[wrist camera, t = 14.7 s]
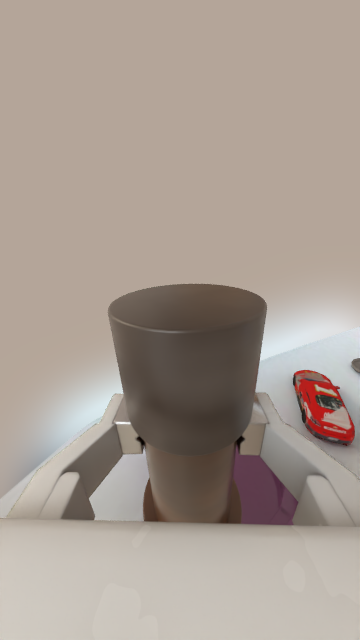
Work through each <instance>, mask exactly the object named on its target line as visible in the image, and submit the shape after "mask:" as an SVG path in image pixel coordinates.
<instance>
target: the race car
mask: <svg viewBox="0 0 360 640" xmlns="http://www.w3.org/2000/svg"><path fill="white" fill-rule="evenodd" d="M293 385H294V386H295V390H296V394H297V398H298V402H299V405H300V409H301V412H302V420H303V422H304V423H305V426H306V427H307V429H308V430H309V431H310V432H311V433H312V434H313V435H315V436H317V437H318V438H321V439H323V438H324V439H325V440H328V441H331V442H335V443H340V444H343V445H346V446H347V444H348V445H350V444H351V443H352V441H353V439H354V436H355V429H354V424H353V422H352V420H351V418H350V415H349V413H348V411H347V409H346V407H345V405H344V403H343V401H342V399H341V397H340V395H339V393H338V391H337V389H340V387H338V386H336V387H335V386H334V385H333V384H332V383H331V381H330V380H329V379H328V378H327V377H326V376H324V375H322V374H320V373H318V372H315V371H310V370H301V371H297V372H296V373H294V378H293Z"/></svg>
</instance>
